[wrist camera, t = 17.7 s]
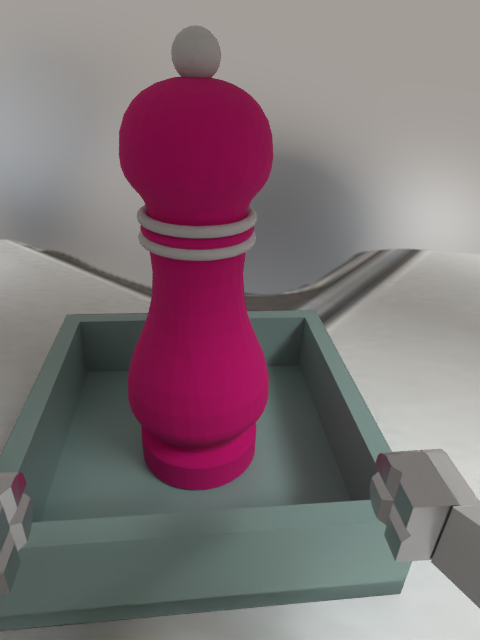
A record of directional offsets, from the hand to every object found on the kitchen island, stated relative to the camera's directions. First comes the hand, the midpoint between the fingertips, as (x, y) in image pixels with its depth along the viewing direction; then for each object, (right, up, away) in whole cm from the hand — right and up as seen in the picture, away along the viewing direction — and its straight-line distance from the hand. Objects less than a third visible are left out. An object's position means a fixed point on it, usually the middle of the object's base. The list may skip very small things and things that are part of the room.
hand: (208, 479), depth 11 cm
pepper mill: (-2, -4, +15) cm, 16 cm away
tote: (-2, -4, +16) cm, 16 cm away
